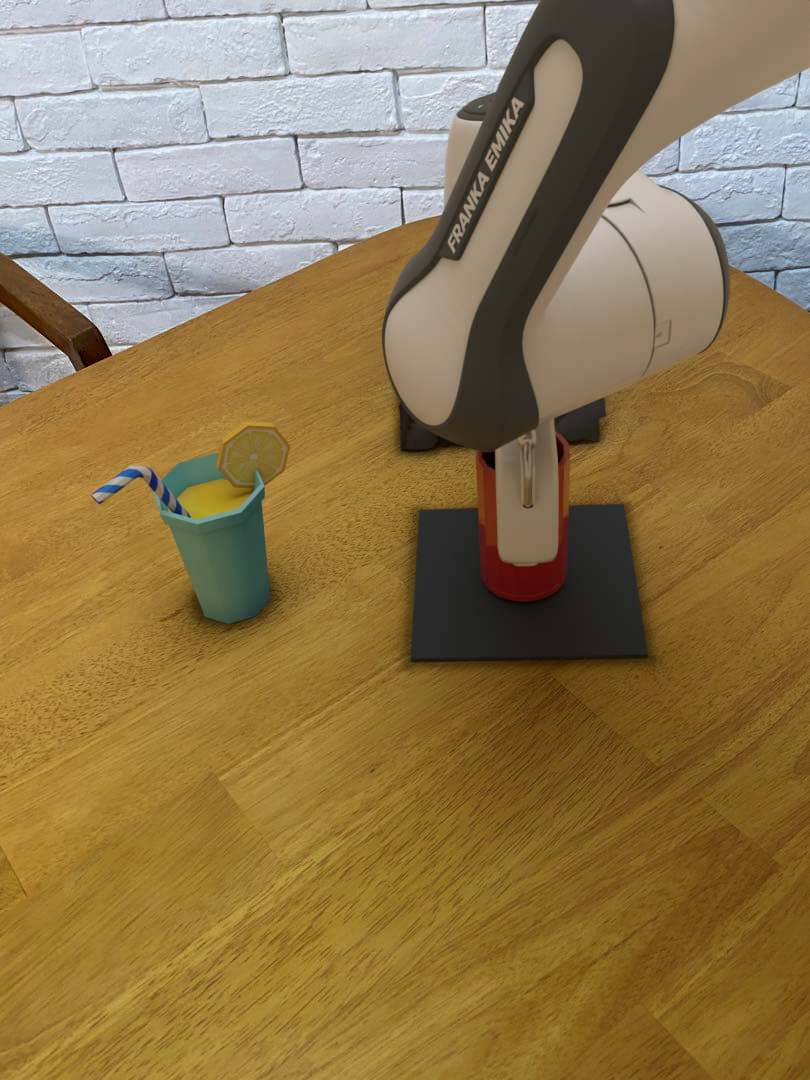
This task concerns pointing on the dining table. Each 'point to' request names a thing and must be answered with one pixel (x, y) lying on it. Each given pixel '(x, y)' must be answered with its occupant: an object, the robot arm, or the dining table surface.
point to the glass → (495, 572)
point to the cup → (219, 517)
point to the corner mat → (534, 626)
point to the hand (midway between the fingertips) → (523, 522)
